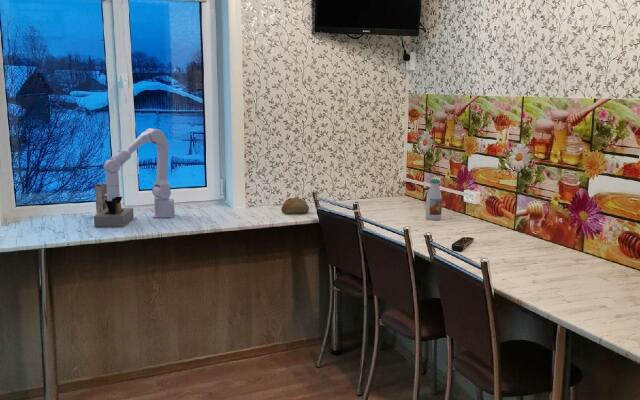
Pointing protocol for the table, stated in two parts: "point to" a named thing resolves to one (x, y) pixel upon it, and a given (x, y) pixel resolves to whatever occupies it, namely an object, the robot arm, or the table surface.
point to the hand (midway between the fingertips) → (114, 213)
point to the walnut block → (117, 209)
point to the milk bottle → (434, 201)
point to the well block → (113, 218)
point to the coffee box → (100, 197)
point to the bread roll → (295, 206)
